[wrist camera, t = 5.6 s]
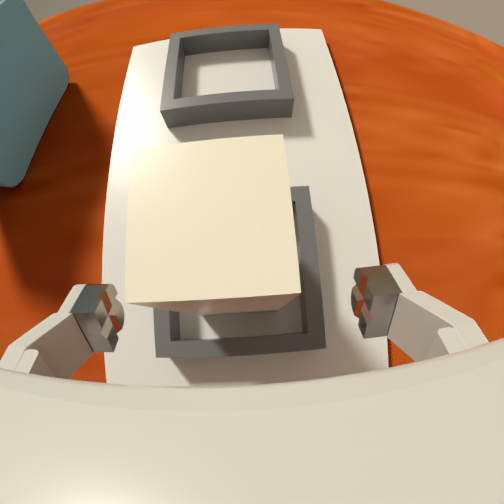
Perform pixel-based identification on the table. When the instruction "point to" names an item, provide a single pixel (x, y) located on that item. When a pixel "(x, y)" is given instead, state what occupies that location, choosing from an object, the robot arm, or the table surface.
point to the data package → (25, 88)
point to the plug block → (211, 227)
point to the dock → (302, 195)
